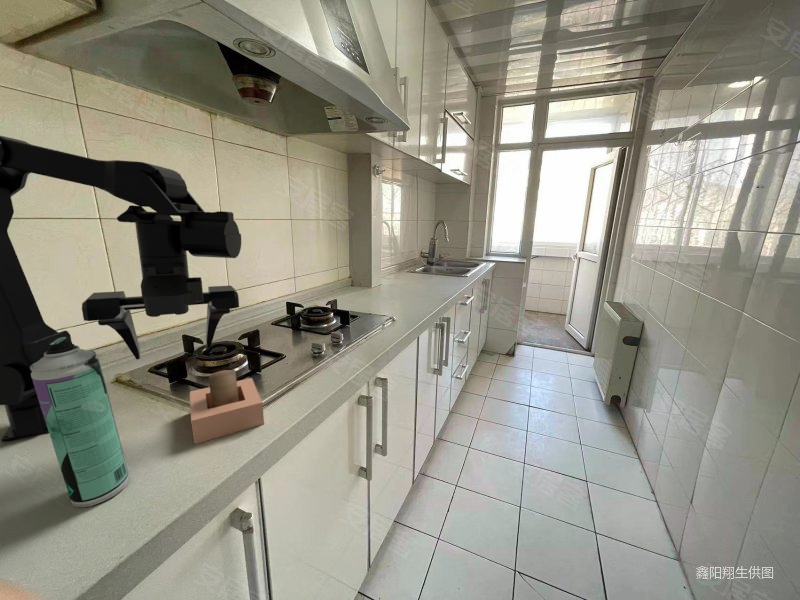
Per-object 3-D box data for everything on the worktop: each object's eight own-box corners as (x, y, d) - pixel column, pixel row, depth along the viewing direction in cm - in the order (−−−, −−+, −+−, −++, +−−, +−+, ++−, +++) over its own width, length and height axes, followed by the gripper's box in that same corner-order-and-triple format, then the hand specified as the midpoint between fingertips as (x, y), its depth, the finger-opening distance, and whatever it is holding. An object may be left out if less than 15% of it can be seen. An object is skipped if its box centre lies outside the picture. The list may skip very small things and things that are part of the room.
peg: (213, 415, 57) (207, 373, 55) (238, 409, 59) (234, 368, 57) (214, 427, 54) (209, 383, 52) (241, 420, 56) (237, 377, 54)
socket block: (192, 411, 58) (189, 391, 57) (253, 396, 63) (251, 377, 62) (194, 444, 50) (191, 420, 49) (264, 423, 55) (262, 402, 54)
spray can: (128, 466, 45) (93, 327, 40) (130, 490, 41) (90, 339, 36) (73, 487, 41) (27, 338, 36) (69, 515, 37) (16, 353, 32)
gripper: (59, 264, 37) (83, 389, 40) (241, 260, 47) (247, 361, 51) (83, 253, 46) (100, 356, 49) (231, 252, 56) (237, 338, 60)
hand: (175, 353), depth 52 cm, fingers open, 9 cm apart
